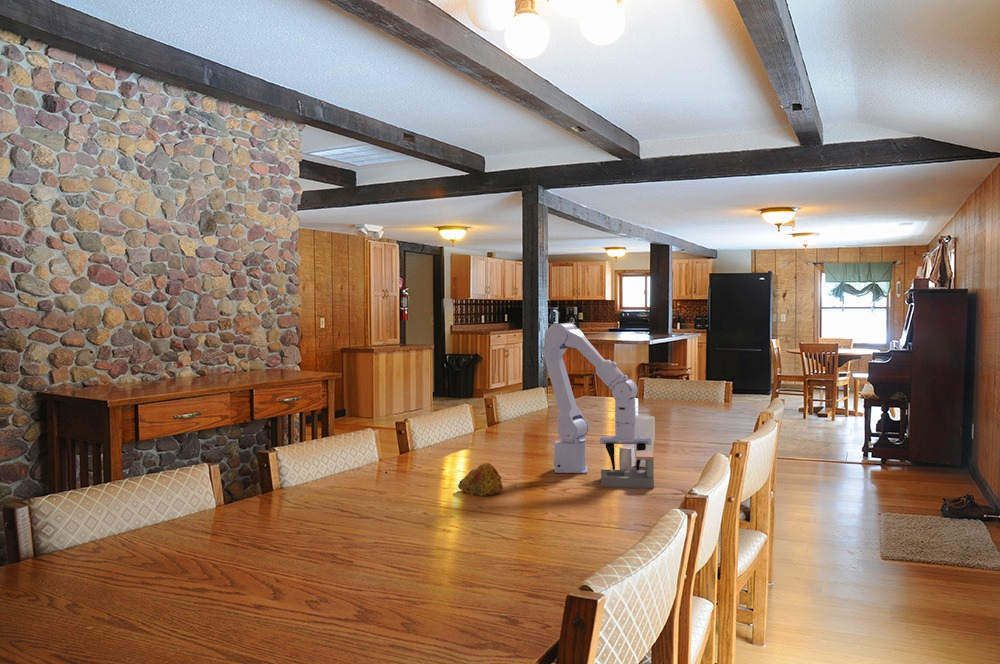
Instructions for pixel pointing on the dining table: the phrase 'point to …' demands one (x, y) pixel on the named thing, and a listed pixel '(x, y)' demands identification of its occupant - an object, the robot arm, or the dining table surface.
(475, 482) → the rock
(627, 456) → the peg
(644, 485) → the socket station
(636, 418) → the cream rounded cylinder
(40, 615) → the dining table surface
